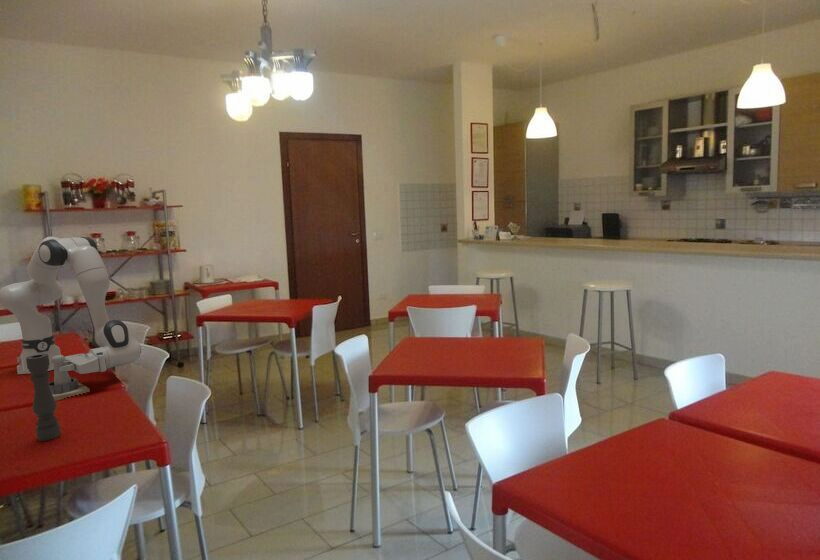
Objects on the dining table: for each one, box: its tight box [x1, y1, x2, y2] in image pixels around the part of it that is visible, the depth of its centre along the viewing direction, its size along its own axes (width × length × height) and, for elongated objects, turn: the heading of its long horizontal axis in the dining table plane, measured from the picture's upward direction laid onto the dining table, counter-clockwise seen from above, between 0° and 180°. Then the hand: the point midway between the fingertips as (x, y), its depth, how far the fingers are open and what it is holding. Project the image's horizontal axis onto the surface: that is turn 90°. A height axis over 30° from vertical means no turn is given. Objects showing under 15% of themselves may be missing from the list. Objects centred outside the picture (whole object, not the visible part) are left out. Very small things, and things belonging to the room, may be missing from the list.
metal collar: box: [49, 377, 79, 394], centre depth 222 cm, size 10×10×3 cm
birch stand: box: [52, 381, 91, 402], centre depth 223 cm, size 14×14×2 cm
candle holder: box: [26, 354, 62, 442], centre depth 178 cm, size 6×6×25 cm
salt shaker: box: [51, 354, 72, 386], centre depth 222 cm, size 6×6×13 cm
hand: (57, 368), depth 221 cm, fingers closed on salt shaker, 3 cm apart
